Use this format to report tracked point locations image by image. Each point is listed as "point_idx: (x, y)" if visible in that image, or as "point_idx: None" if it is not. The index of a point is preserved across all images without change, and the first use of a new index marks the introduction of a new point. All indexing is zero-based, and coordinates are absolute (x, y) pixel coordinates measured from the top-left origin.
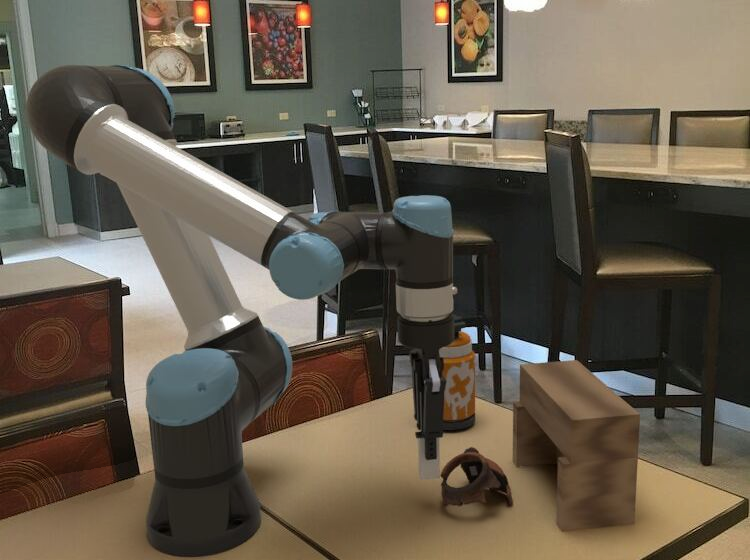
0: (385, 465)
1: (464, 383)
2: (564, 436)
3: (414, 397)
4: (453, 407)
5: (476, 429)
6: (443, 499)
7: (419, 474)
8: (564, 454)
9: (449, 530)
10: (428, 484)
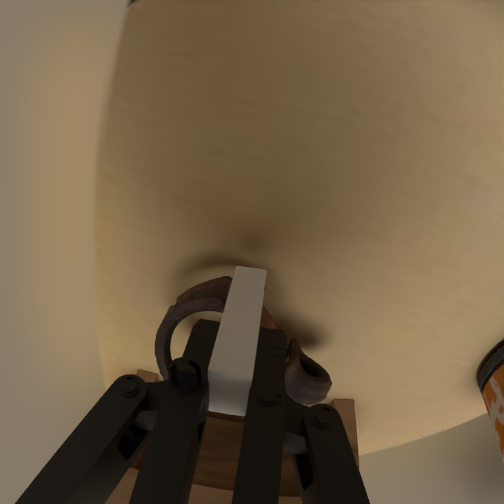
0: (469, 216)
1: (501, 442)
2: (123, 493)
3: (332, 496)
4: (499, 394)
5: (469, 384)
6: (227, 279)
7: (256, 271)
8: (129, 469)
9: (160, 249)
10: (351, 272)
